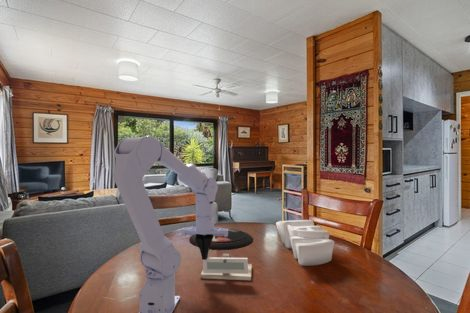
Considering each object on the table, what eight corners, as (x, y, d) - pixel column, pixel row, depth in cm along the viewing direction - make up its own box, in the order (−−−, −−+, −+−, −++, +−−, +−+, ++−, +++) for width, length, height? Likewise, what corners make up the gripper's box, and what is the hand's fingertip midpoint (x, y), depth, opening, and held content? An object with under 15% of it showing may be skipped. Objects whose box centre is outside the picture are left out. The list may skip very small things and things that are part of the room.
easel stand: (251, 280, 75) (250, 257, 75) (200, 278, 76) (200, 255, 76) (251, 267, 84) (251, 246, 84) (206, 265, 85) (206, 244, 85)
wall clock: (179, 252, 103) (248, 253, 97) (178, 242, 103) (247, 242, 97) (200, 233, 129) (256, 232, 123) (200, 224, 129) (255, 223, 123)
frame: (247, 274, 73) (247, 259, 73) (202, 273, 74) (202, 259, 74) (248, 272, 75) (247, 257, 75) (203, 271, 76) (203, 257, 76)
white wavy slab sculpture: (342, 271, 81) (342, 240, 81) (293, 272, 80) (293, 240, 81) (308, 236, 116) (307, 215, 116) (274, 237, 115) (274, 215, 116)
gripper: (229, 212, 79) (229, 253, 79) (186, 211, 80) (186, 252, 80) (226, 218, 72) (226, 263, 72) (179, 217, 73) (179, 261, 73)
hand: (204, 258), depth 76 cm, fingers closed, pressing on frame
